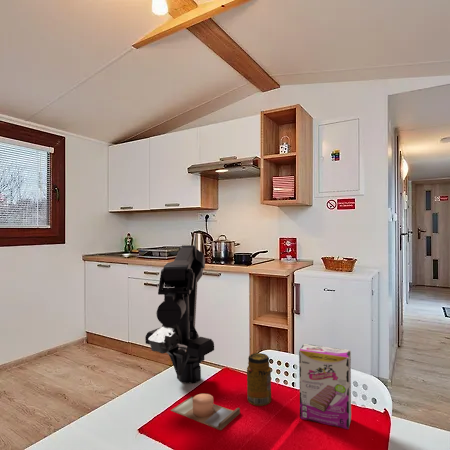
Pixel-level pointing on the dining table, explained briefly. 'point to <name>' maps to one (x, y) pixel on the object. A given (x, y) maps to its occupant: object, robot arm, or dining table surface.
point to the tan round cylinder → (203, 405)
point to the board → (214, 420)
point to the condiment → (258, 379)
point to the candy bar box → (325, 385)
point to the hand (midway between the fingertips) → (179, 374)
